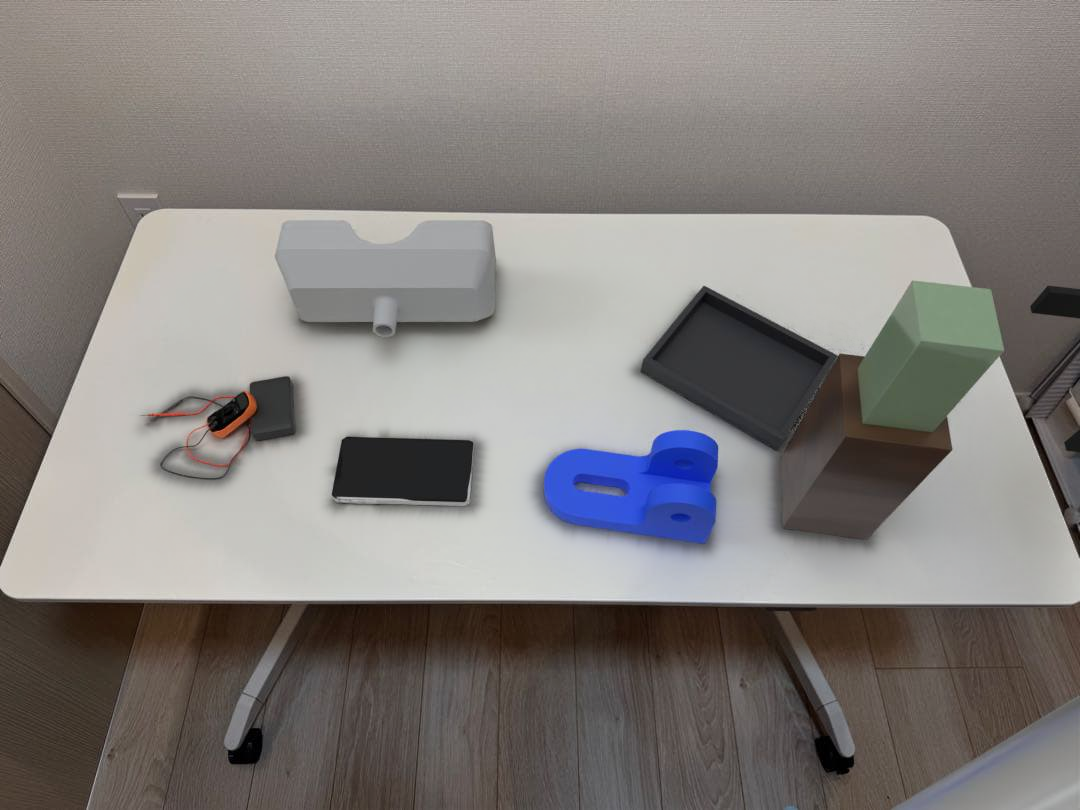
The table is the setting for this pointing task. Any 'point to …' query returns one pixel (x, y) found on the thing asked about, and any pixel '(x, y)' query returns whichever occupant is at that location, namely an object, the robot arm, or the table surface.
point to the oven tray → (739, 366)
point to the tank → (389, 273)
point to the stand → (851, 461)
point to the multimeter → (249, 414)
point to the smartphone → (404, 471)
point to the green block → (928, 355)
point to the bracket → (640, 488)
